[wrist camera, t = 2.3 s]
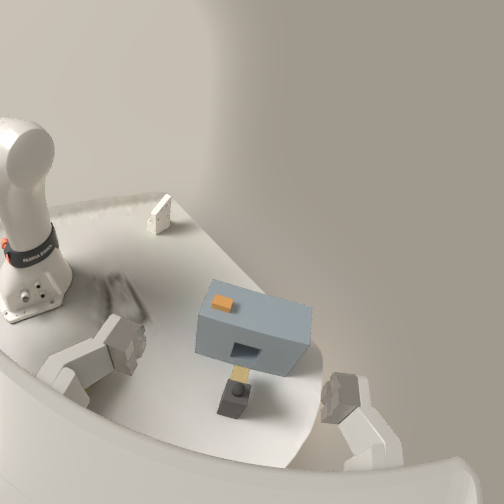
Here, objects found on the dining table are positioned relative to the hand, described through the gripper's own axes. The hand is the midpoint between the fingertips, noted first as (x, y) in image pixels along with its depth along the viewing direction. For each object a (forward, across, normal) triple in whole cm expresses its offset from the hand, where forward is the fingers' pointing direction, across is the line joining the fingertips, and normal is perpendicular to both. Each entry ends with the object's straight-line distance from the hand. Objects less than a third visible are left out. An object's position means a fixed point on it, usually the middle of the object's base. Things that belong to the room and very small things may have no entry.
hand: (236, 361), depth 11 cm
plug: (+17, +2, -36) cm, 40 cm away
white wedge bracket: (+57, -29, -29) cm, 70 cm away
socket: (+28, +2, -34) cm, 44 cm away
